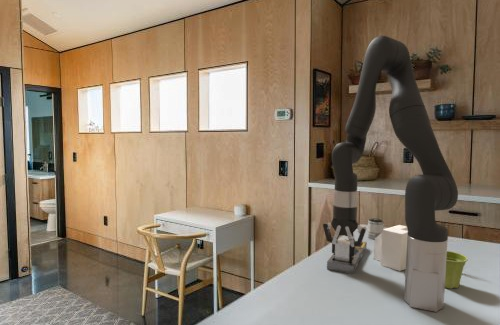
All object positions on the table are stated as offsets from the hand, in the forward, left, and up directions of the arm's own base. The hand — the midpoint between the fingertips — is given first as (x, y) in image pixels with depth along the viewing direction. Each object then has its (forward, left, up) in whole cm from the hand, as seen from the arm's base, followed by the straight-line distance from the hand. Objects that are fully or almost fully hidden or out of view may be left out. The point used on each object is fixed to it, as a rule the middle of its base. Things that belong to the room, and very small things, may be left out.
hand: (343, 255), depth 119 cm
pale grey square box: (0, 0, -4) cm, 4 cm away
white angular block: (+12, -14, -4) cm, 19 cm away
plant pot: (0, -30, -4) cm, 30 cm away
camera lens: (+40, -5, -4) cm, 40 cm away
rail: (+9, 0, -4) cm, 10 cm away
